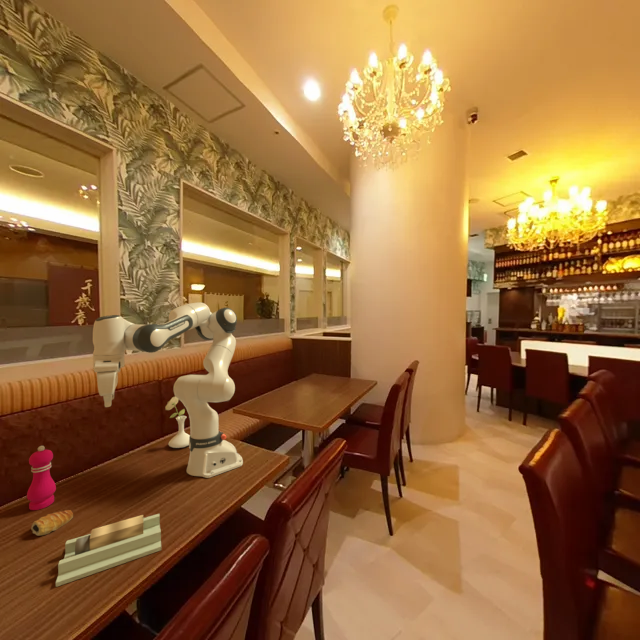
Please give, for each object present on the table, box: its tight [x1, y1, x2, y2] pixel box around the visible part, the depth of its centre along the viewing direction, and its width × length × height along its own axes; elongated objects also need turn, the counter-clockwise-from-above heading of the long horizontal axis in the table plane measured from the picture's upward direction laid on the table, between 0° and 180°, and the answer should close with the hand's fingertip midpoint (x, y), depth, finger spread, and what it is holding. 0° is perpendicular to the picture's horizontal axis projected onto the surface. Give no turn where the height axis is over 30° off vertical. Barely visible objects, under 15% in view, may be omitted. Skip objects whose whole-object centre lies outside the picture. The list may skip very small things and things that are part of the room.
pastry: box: [30, 509, 74, 536], centre depth 92 cm, size 9×7×4 cm
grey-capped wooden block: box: [75, 514, 144, 555], centre depth 82 cm, size 15×4×5 cm, turn 120°
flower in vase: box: [165, 395, 191, 449], centre depth 147 cm, size 13×11×25 cm
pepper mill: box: [26, 445, 57, 511], centre depth 102 cm, size 7×7×20 cm
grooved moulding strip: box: [55, 513, 162, 588], centre depth 82 cm, size 22×14×4 cm, turn 120°
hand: (109, 402), depth 103 cm, fingers open, 8 cm apart
